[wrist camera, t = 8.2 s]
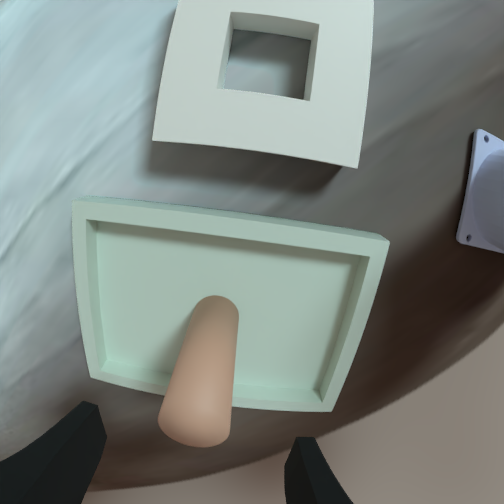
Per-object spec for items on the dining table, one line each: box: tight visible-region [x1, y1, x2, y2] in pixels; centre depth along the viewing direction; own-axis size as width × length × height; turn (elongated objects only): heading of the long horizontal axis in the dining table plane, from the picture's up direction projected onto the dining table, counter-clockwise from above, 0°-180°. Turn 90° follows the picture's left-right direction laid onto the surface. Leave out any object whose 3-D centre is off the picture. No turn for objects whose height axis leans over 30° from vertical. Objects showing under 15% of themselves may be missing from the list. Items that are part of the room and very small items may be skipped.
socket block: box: [152, 0, 374, 168], centre depth 13 cm, size 10×10×2 cm
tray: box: [72, 196, 390, 412], centre depth 18 cm, size 18×13×2 cm
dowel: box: [158, 295, 239, 447], centre depth 14 cm, size 3×3×9 cm
